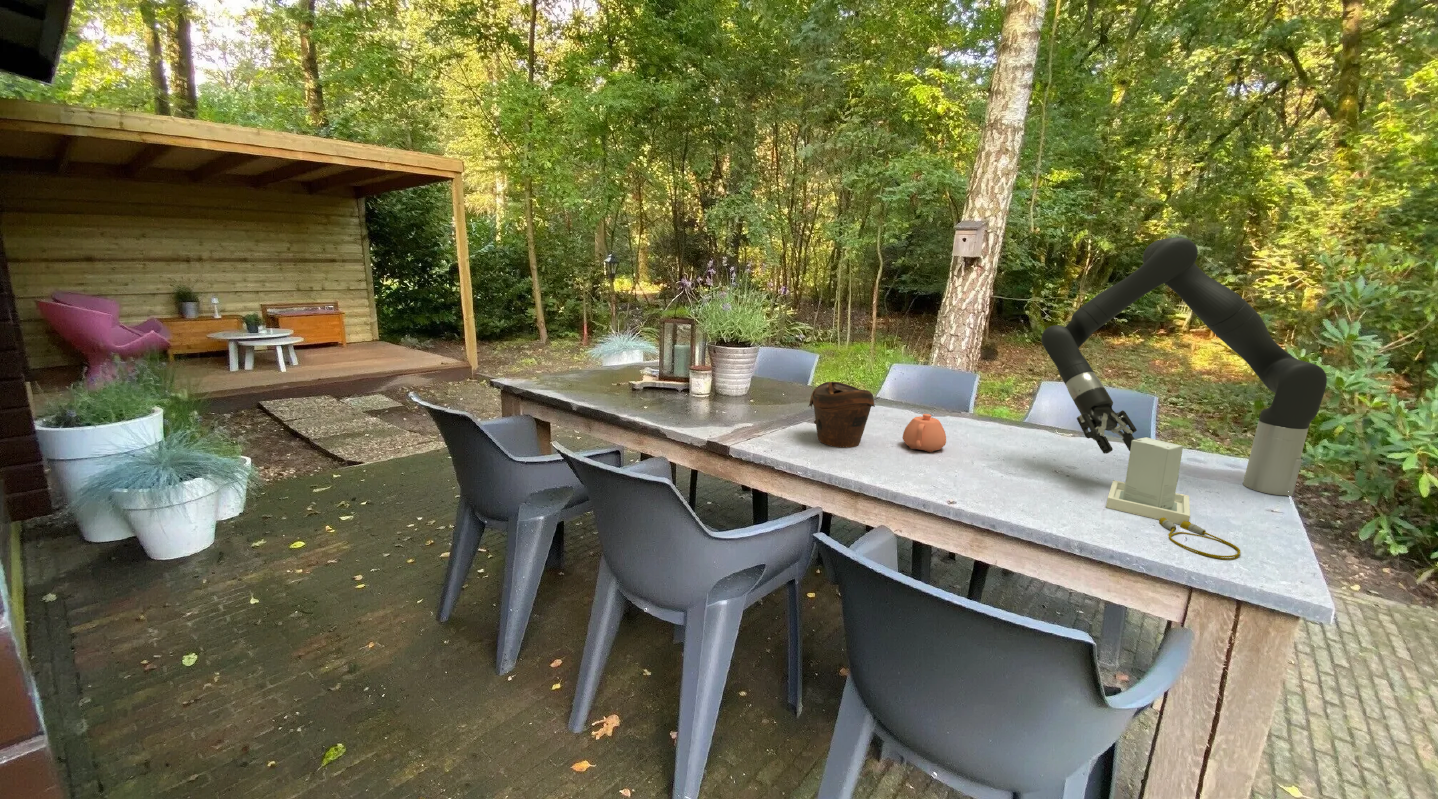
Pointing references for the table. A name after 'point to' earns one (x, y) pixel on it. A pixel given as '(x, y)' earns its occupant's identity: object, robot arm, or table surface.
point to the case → (840, 413)
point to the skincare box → (1153, 472)
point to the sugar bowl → (924, 434)
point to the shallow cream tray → (1173, 514)
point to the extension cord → (1199, 530)
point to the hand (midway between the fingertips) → (1121, 451)
